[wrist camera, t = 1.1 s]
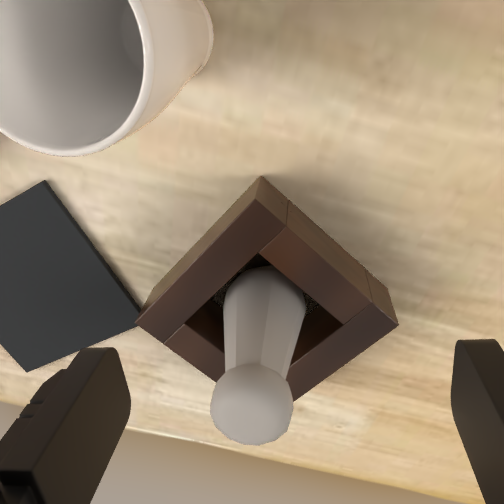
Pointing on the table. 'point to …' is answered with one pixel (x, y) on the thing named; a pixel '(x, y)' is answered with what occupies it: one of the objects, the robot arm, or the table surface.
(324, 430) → the table surface
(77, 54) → the drinking glass
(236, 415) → the salt shaker
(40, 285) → the mat
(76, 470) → the robot arm
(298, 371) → the holder
